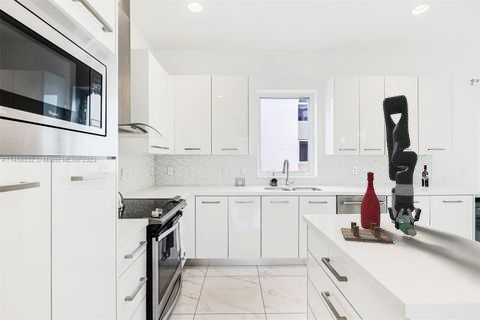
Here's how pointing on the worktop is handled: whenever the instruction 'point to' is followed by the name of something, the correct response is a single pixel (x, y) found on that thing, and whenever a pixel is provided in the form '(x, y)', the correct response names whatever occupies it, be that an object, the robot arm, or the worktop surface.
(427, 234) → the worktop surface
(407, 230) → the green bottle
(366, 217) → the wine bottle
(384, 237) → the walnut bottle rack
